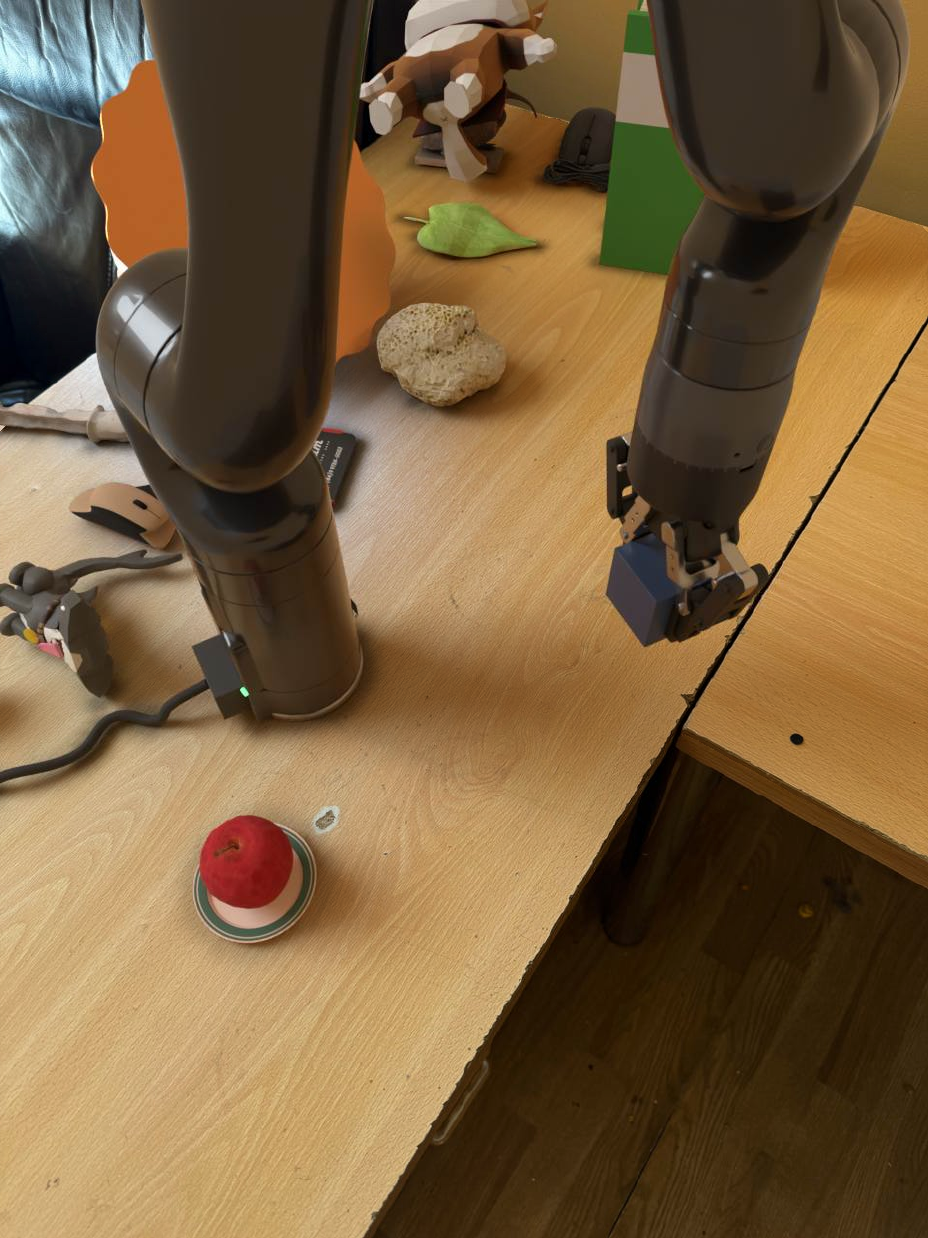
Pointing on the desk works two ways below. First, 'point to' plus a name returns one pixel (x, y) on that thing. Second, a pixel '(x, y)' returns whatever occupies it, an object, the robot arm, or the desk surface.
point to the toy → (457, 71)
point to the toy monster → (68, 613)
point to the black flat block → (335, 457)
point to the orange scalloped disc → (157, 214)
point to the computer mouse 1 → (126, 512)
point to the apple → (253, 879)
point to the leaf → (467, 231)
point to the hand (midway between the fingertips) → (656, 604)
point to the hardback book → (644, 166)
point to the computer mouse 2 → (585, 150)
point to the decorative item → (439, 353)
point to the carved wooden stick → (66, 421)
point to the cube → (642, 588)
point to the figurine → (475, 135)
